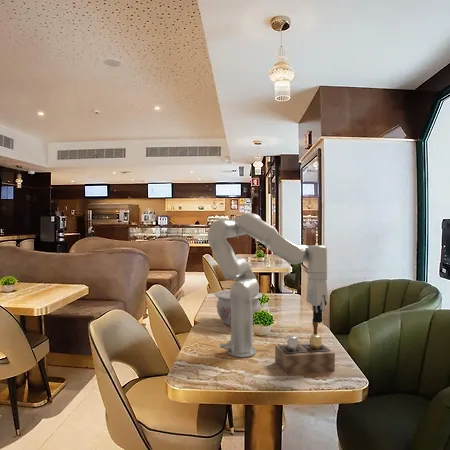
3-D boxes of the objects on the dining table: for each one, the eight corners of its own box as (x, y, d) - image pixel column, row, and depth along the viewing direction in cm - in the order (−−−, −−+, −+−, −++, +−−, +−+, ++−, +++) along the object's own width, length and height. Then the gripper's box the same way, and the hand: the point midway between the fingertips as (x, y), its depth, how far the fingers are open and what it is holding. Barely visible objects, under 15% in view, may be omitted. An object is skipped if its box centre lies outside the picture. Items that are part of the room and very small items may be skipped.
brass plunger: (313, 355, 139) (313, 337, 139) (309, 351, 143) (309, 334, 143) (322, 354, 140) (323, 337, 140) (318, 351, 144) (318, 334, 144)
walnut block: (285, 374, 132) (286, 355, 132) (275, 362, 144) (275, 344, 144) (334, 370, 136) (334, 352, 136) (320, 359, 148) (320, 341, 148)
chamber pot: (264, 331, 185) (265, 292, 185) (212, 330, 186) (213, 291, 186) (260, 317, 213) (260, 283, 213) (215, 316, 214) (215, 282, 214)
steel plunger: (289, 356, 137) (289, 339, 137) (285, 353, 141) (286, 335, 141) (299, 356, 138) (299, 338, 138) (295, 352, 142) (295, 335, 142)
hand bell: (321, 354, 154) (322, 317, 154) (303, 350, 158) (303, 315, 158) (327, 348, 161) (327, 313, 161) (309, 345, 165) (309, 311, 165)
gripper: (300, 274, 148) (301, 317, 147) (317, 279, 133) (317, 327, 133) (317, 273, 149) (317, 316, 149) (335, 278, 134) (335, 326, 134)
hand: (317, 321), depth 141 cm, fingers closed
